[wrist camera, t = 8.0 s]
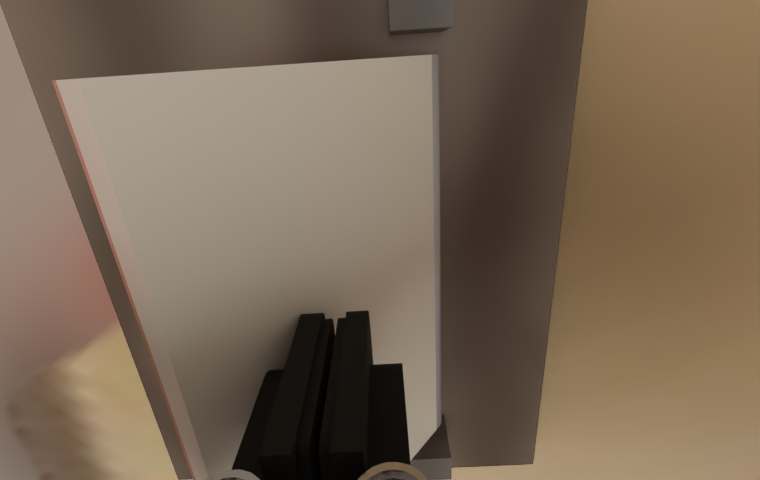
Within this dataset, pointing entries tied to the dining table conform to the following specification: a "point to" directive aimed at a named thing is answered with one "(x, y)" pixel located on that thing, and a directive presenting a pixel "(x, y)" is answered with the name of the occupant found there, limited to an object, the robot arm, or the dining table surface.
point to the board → (457, 165)
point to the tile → (268, 224)
